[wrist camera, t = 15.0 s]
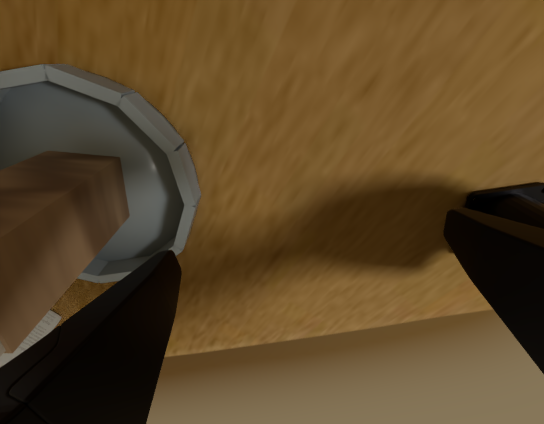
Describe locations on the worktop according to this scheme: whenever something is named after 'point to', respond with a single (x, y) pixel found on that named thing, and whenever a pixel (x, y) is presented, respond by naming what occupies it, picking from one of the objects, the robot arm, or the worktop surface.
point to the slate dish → (105, 154)
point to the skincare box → (33, 336)
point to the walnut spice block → (52, 231)
